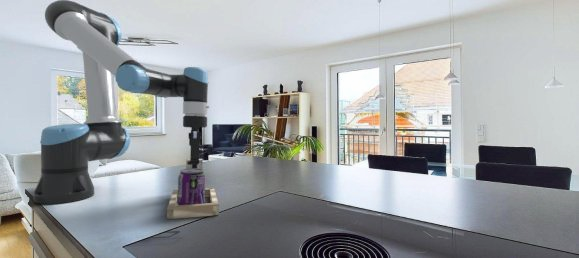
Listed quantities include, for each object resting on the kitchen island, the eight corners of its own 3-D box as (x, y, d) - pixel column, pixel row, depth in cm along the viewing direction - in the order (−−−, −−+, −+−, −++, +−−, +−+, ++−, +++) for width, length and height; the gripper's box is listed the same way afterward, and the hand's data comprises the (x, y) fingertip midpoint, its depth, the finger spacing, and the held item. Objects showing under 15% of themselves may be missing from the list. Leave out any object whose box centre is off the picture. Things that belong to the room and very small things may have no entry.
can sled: (173, 197, 91) (173, 159, 91) (213, 194, 95) (214, 158, 95) (166, 219, 71) (167, 171, 71) (218, 215, 75) (219, 169, 75)
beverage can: (199, 217, 74) (200, 172, 74) (173, 216, 74) (174, 172, 74) (207, 208, 81) (208, 168, 81) (183, 208, 81) (184, 167, 81)
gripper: (208, 115, 81) (207, 188, 81) (205, 115, 103) (204, 173, 104) (181, 114, 78) (180, 190, 79) (184, 115, 101) (183, 173, 102)
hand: (194, 180), depth 91 cm, fingers open, 12 cm apart
